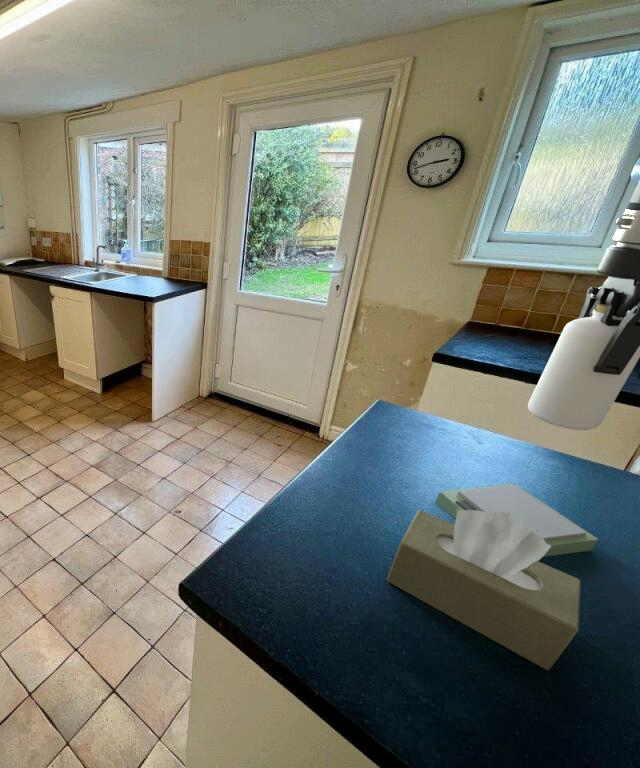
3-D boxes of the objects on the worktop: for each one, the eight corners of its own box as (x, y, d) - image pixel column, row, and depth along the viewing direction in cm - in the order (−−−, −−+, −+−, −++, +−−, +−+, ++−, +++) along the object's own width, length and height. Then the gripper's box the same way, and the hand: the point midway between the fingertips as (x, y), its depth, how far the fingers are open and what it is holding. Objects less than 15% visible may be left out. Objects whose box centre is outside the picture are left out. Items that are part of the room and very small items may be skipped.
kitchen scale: (509, 493, 80) (515, 480, 79) (591, 550, 68) (600, 536, 66) (435, 501, 78) (440, 488, 77) (505, 561, 66) (513, 547, 64)
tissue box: (556, 621, 57) (614, 536, 50) (551, 674, 51) (617, 585, 44) (402, 544, 69) (432, 467, 62) (383, 580, 63) (414, 499, 56)
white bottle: (529, 401, 70) (579, 296, 62) (599, 419, 65) (663, 307, 57) (521, 418, 65) (574, 306, 57) (596, 439, 60) (666, 319, 52)
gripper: (584, 238, 61) (519, 381, 72) (646, 253, 49) (556, 423, 59) (654, 241, 58) (576, 389, 69) (740, 257, 46) (629, 436, 56)
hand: (567, 405), depth 64 cm, fingers open, 2 cm apart
